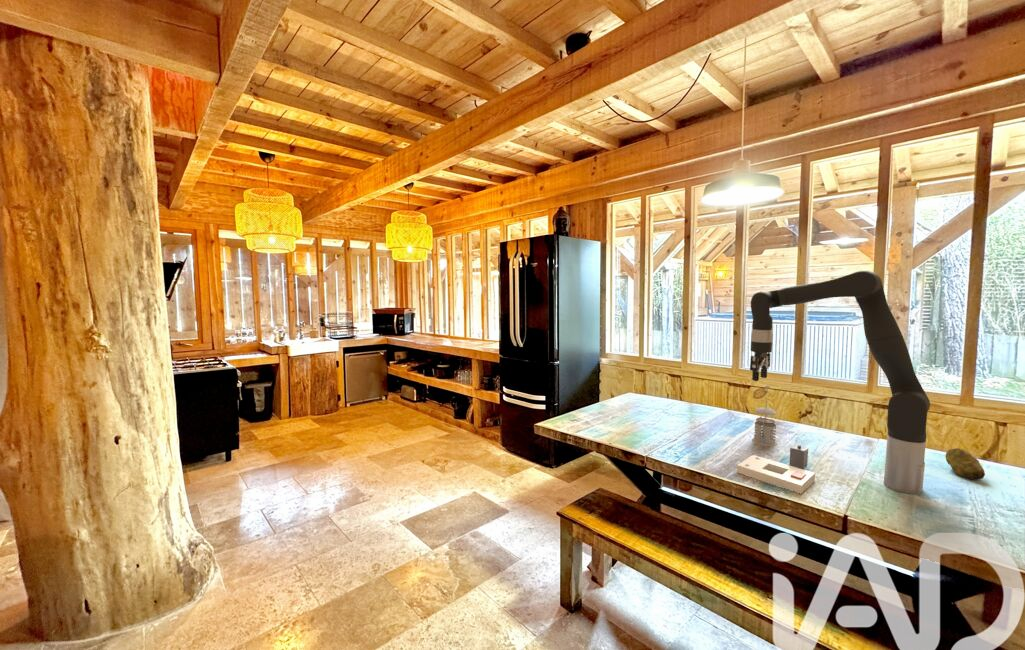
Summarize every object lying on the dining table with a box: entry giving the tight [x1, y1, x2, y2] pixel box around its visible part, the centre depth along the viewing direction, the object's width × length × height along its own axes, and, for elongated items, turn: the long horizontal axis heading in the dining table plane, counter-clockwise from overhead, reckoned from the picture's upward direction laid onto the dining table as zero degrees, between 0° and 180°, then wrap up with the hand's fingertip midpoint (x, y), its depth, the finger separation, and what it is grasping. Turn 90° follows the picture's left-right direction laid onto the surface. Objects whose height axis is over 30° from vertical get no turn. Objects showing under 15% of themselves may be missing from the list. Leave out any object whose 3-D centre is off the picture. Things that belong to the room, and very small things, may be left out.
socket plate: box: [736, 454, 816, 495], centre depth 146 cm, size 20×14×4 cm
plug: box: [788, 444, 809, 470], centre depth 152 cm, size 4×4×9 cm
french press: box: [751, 385, 779, 448], centre depth 176 cm, size 10×12×25 cm
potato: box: [944, 448, 986, 481], centre depth 147 cm, size 8×13×8 cm, turn 144°
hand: (759, 379), depth 170 cm, fingers open, 8 cm apart
